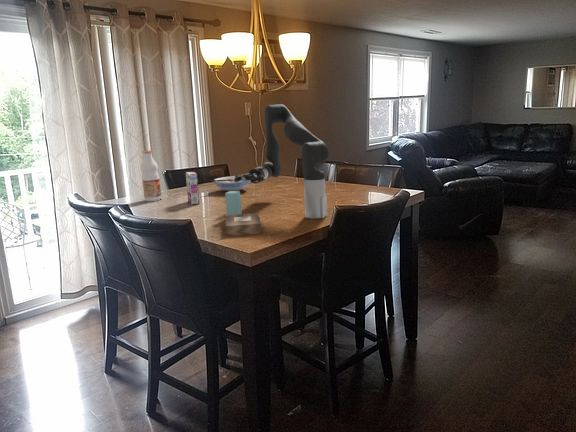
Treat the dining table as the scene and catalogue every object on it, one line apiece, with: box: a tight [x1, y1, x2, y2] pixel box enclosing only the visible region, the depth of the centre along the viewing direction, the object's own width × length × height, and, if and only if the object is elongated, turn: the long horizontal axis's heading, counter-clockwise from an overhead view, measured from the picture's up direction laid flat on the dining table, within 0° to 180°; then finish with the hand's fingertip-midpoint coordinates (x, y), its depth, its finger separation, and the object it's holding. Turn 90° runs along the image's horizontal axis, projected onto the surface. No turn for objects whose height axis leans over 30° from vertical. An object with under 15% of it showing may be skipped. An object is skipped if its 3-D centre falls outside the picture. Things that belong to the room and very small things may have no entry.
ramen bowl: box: [209, 175, 251, 192], centre depth 271 cm, size 25×23×8 cm
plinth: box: [225, 212, 262, 237], centre depth 185 cm, size 14×18×4 cm
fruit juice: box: [140, 150, 163, 202], centre depth 252 cm, size 9×9×28 cm
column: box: [224, 190, 243, 216], centre depth 204 cm, size 5×5×12 cm
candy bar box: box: [185, 171, 200, 206], centre depth 240 cm, size 11×5×16 cm, turn 21°
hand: (243, 180), depth 212 cm, fingers open, 8 cm apart
